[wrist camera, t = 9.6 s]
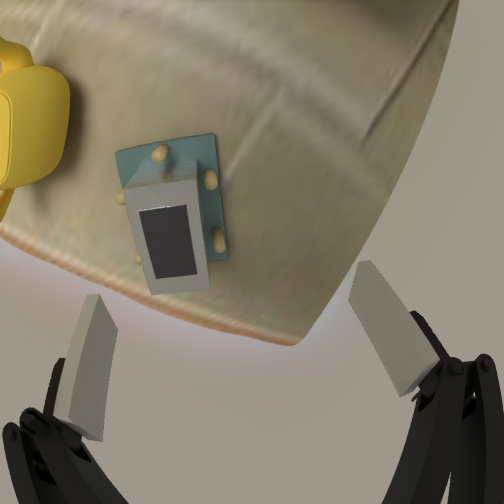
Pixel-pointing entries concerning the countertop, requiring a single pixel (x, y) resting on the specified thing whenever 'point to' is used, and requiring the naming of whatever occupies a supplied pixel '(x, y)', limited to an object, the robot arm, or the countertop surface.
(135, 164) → the pegboard
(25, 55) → the teapot
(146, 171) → the grey box
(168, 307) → the countertop surface
